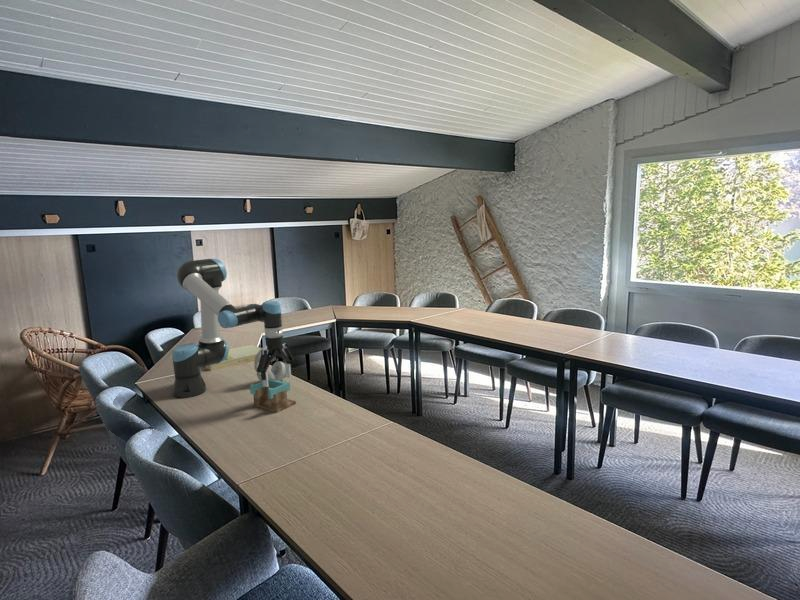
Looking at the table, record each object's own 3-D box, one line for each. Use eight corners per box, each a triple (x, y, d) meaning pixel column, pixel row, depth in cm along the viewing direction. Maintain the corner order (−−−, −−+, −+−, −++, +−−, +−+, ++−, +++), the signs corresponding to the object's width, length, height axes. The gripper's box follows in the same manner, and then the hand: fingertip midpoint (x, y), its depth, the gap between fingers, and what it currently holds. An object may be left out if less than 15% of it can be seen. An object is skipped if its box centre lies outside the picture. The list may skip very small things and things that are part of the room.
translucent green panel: (269, 358, 284) (253, 350, 302) (269, 351, 284) (252, 343, 301) (210, 372, 261) (195, 363, 279) (209, 364, 260) (195, 355, 278)
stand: (277, 412, 201) (276, 394, 200) (254, 406, 209) (252, 389, 208) (295, 403, 210) (294, 386, 209) (272, 397, 218) (271, 381, 217)
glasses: (270, 398, 198) (270, 389, 198) (250, 393, 205) (249, 384, 205) (290, 390, 208) (289, 381, 207) (270, 385, 215) (269, 377, 214)
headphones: (262, 389, 230) (259, 350, 226) (251, 384, 237) (248, 346, 233) (294, 379, 243) (291, 342, 240) (283, 375, 250) (280, 339, 247)
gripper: (257, 343, 194) (261, 392, 198) (300, 330, 215) (303, 374, 218) (245, 341, 198) (249, 389, 202) (288, 329, 219) (291, 372, 222)
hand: (277, 381), depth 210 cm, fingers open, 13 cm apart
